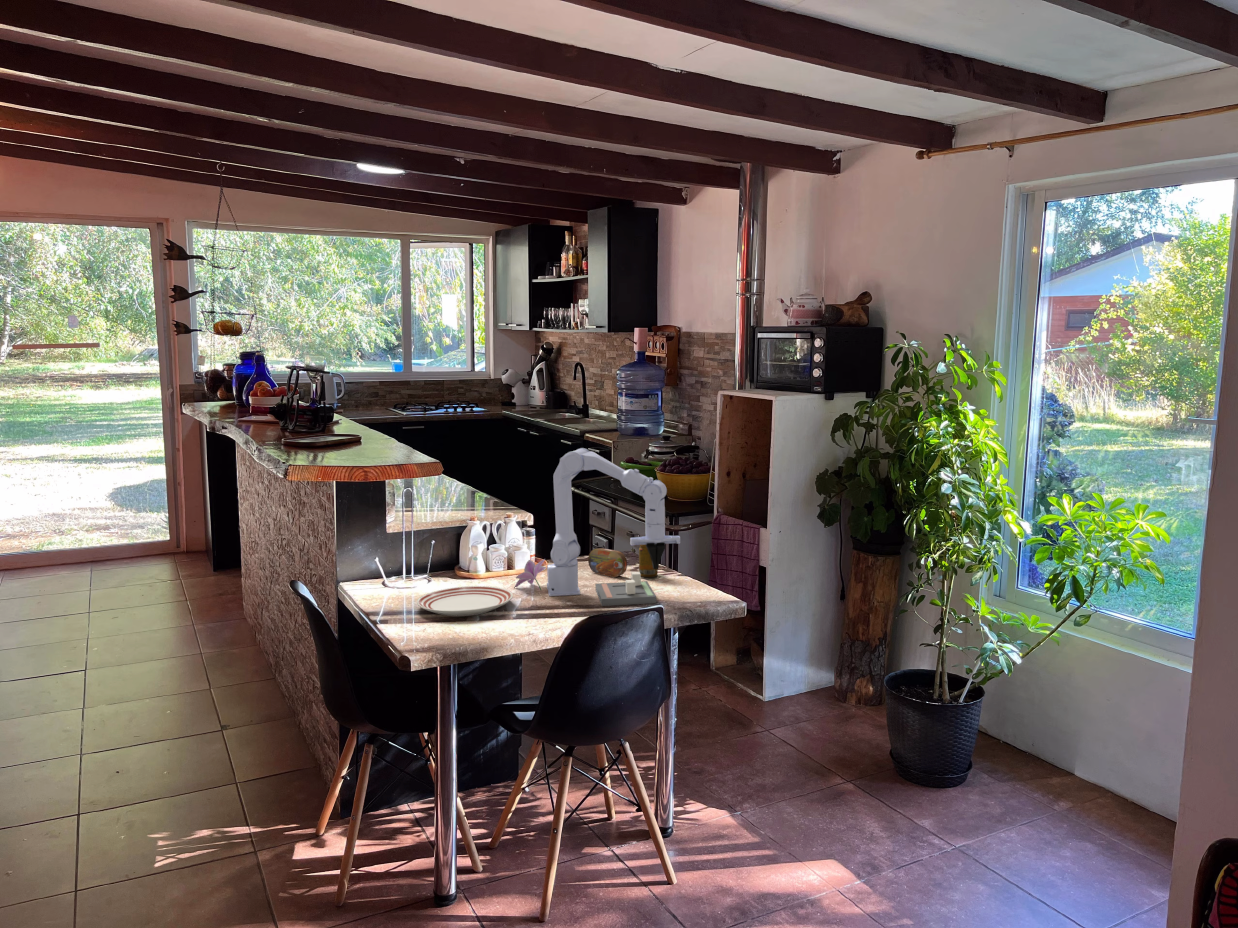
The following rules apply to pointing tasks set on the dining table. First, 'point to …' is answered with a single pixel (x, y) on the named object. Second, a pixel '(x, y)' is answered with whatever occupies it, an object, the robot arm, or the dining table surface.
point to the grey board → (624, 594)
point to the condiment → (647, 565)
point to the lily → (530, 572)
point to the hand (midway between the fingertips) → (655, 568)
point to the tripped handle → (630, 586)
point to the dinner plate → (464, 600)
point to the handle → (636, 578)
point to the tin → (607, 562)
